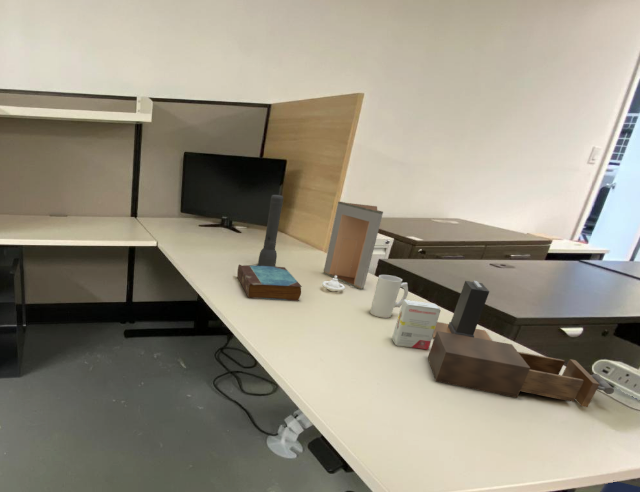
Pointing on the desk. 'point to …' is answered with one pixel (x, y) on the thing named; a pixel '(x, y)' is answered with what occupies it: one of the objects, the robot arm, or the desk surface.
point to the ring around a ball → (333, 285)
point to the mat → (444, 328)
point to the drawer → (561, 380)
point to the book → (268, 282)
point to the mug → (387, 295)
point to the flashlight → (271, 233)
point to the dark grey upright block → (468, 309)
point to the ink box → (416, 324)
